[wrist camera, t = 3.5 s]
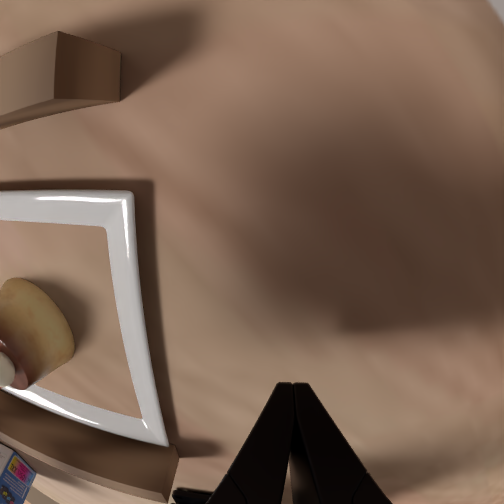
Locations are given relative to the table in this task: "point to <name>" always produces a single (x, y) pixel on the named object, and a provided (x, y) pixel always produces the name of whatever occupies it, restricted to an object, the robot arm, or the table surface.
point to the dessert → (55, 325)
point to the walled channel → (14, 409)
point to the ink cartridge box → (14, 477)
